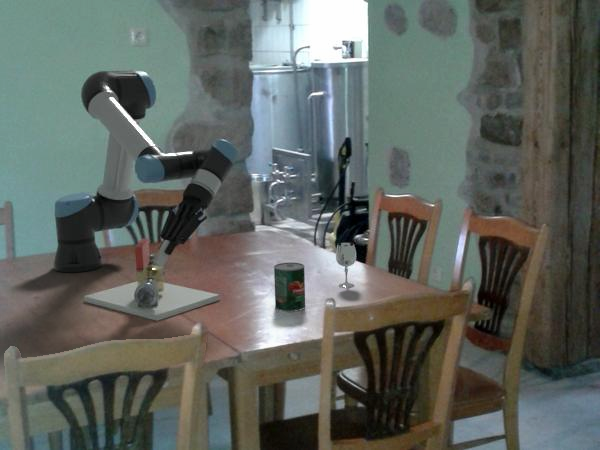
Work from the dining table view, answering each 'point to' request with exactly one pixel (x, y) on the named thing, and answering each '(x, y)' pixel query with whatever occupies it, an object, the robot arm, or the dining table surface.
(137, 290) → the valve body
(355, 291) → the dining table surface
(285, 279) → the canned tomato
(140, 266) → the valve lever
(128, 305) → the plate
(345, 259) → the wineglass
